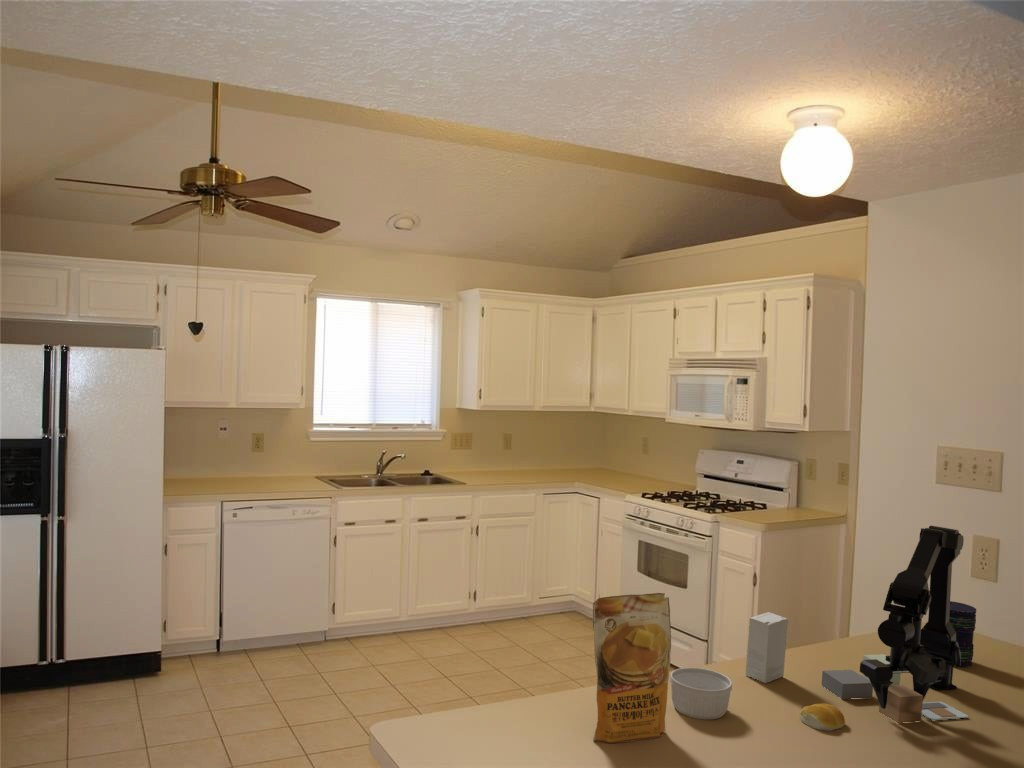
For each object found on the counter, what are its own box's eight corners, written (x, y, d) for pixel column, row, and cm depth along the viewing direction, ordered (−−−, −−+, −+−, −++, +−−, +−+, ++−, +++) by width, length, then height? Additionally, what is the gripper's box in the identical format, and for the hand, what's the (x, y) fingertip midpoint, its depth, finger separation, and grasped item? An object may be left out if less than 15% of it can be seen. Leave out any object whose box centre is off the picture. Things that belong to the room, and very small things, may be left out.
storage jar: (980, 669, 217) (984, 613, 216) (942, 666, 217) (947, 610, 216) (960, 655, 227) (964, 601, 226) (924, 653, 227) (928, 599, 226)
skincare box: (763, 669, 207) (767, 611, 206) (785, 677, 202) (789, 617, 201) (743, 676, 201) (748, 616, 201) (765, 684, 197) (769, 623, 196)
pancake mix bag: (577, 731, 165) (586, 593, 164) (659, 722, 172) (668, 589, 171) (592, 747, 159) (601, 603, 158) (677, 736, 166) (686, 599, 165)
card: (941, 703, 192) (941, 700, 192) (968, 718, 184) (969, 715, 184) (905, 705, 189) (905, 702, 189) (932, 721, 181) (932, 718, 181)
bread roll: (851, 727, 176) (852, 708, 176) (825, 735, 171) (826, 716, 171) (818, 711, 183) (819, 694, 183) (792, 719, 178) (793, 701, 178)
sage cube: (882, 677, 206) (883, 654, 206) (899, 687, 200) (901, 663, 200) (861, 679, 204) (863, 655, 204) (878, 688, 199) (880, 664, 199)
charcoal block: (850, 686, 200) (852, 669, 200) (871, 699, 192) (873, 683, 192) (821, 687, 198) (822, 670, 198) (841, 700, 190) (842, 683, 190)
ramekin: (656, 707, 180) (658, 676, 179) (688, 692, 189) (690, 662, 189) (710, 728, 171) (713, 695, 170) (741, 711, 180) (743, 680, 180)
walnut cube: (901, 710, 186) (903, 684, 186) (920, 722, 180) (923, 695, 180) (878, 712, 184) (880, 686, 184) (898, 724, 179) (900, 697, 179)
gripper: (896, 651, 172) (891, 725, 172) (969, 648, 177) (963, 720, 177) (860, 633, 182) (855, 703, 183) (930, 631, 187) (924, 699, 188)
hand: (900, 706), depth 182 cm, fingers open, 9 cm apart
